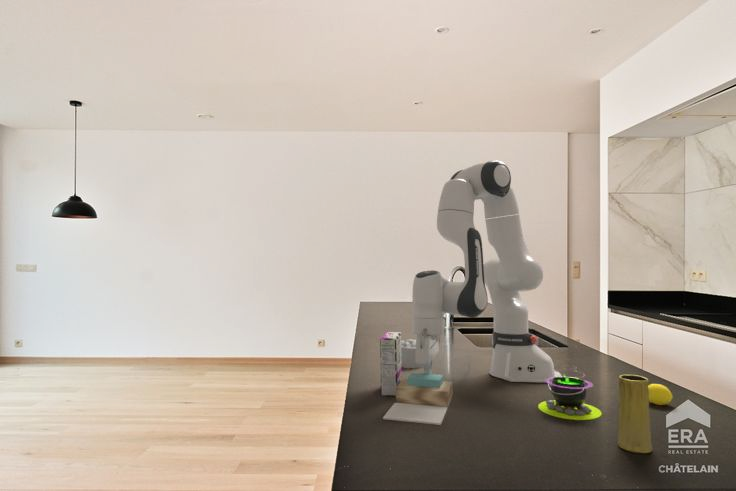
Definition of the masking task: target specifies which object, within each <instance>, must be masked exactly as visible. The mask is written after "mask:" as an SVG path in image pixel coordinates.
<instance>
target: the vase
mask: <svg viewBox="0 0 736 491" xmlns="http://www.w3.org/2000/svg"><path fill="white" fill-rule="evenodd" d="M648 385H649V379H648V378H647V377H645V376H643V375H637V374H621V375H619V376H618V389H619V390H618V391H619V410H618V411H619V412H618V413H619V414H618V417H619V418H618V419H619V420H618V440H617V445H618V446H619V448H620V449H623V450H625V451H627V452H630V453H635V454H651V452H652V451H653V446H652V435H651V434H652V433H651V432H652V431H651V419H650V418H651V417H650V401H649V389H648Z"/></svg>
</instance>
